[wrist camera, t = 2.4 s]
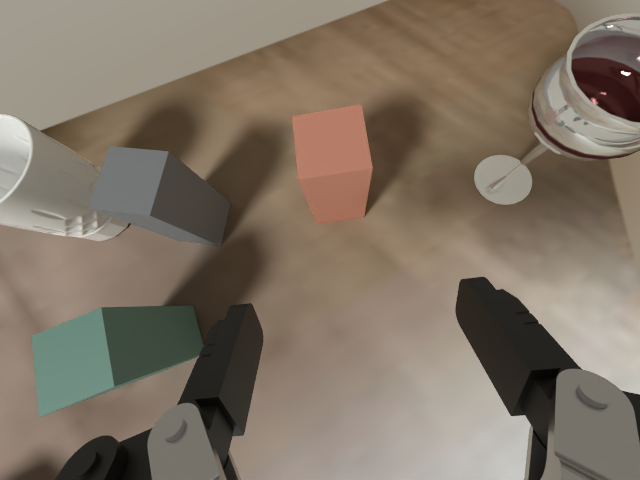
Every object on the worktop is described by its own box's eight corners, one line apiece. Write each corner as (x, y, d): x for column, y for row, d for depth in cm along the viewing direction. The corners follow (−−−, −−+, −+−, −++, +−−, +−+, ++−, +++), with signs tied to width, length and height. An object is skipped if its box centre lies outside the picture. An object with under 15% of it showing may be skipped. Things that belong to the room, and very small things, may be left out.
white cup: (66, 197, 29) (-76, 145, 19) (130, 164, 29) (21, 95, 19) (82, 260, 27) (-66, 237, 17) (151, 224, 27) (42, 181, 18)
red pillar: (316, 224, 25) (298, 179, 16) (311, 181, 26) (291, 116, 17) (364, 217, 25) (372, 168, 16) (357, 174, 26) (361, 104, 17)
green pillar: (159, 372, 24) (39, 417, 15) (148, 323, 25) (31, 336, 16) (205, 353, 24) (114, 386, 14) (193, 305, 25) (101, 307, 16)
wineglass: (523, 137, 25) (674, -5, 13) (556, 202, 23) (762, 104, 12) (452, 157, 25) (540, 35, 14) (480, 223, 24) (607, 147, 12)
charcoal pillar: (178, 240, 26) (87, 208, 17) (189, 198, 27) (109, 146, 18) (220, 246, 26) (149, 215, 17) (230, 202, 27) (168, 151, 18)
